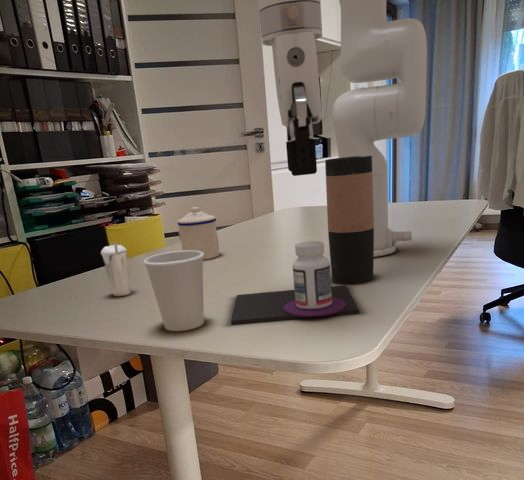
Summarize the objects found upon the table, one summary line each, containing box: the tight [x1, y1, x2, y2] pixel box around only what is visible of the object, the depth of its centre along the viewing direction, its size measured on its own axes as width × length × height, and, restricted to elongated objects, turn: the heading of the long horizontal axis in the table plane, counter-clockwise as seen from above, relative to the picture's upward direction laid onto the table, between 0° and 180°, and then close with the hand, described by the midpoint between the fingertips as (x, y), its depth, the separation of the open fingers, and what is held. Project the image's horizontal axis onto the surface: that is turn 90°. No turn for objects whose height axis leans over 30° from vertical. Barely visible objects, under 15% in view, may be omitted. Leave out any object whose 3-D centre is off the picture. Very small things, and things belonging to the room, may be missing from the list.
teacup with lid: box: [177, 206, 220, 261], centre depth 124 cm, size 12×9×12 cm
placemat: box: [230, 284, 360, 325], centre depth 79 cm, size 18×16×1 cm
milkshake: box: [100, 241, 132, 297], centre depth 95 cm, size 4×5×10 cm
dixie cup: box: [143, 250, 205, 332], centre depth 74 cm, size 8×8×10 cm
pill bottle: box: [292, 240, 332, 310], centre depth 74 cm, size 5×5×9 cm
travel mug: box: [324, 156, 375, 285], centre depth 88 cm, size 8×8×20 cm
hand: (301, 172), depth 71 cm, fingers open, 9 cm apart
